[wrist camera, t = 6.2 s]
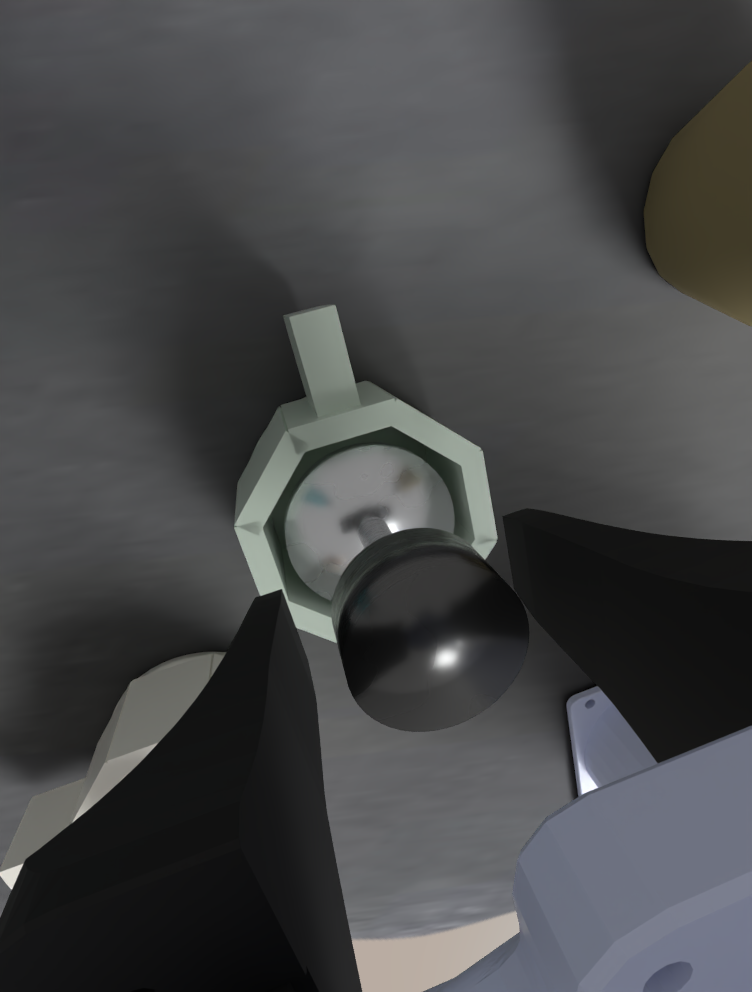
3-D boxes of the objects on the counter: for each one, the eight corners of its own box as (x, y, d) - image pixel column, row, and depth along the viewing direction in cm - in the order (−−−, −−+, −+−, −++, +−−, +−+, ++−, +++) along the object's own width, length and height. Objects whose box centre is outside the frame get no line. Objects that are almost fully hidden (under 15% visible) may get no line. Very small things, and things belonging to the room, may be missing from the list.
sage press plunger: (430, 420, 15) (546, 493, 9) (460, 567, 17) (573, 707, 11) (261, 471, 15) (268, 584, 9) (311, 618, 16) (346, 794, 10)
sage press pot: (459, 543, 21) (507, 597, 17) (282, 602, 20) (289, 673, 16) (406, 281, 17) (452, 274, 13) (186, 340, 16) (166, 350, 12)
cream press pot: (268, 626, 20) (272, 702, 16) (320, 760, 23) (334, 853, 19) (2, 715, 19) (-62, 820, 15) (90, 846, 22) (55, 963, 18)
